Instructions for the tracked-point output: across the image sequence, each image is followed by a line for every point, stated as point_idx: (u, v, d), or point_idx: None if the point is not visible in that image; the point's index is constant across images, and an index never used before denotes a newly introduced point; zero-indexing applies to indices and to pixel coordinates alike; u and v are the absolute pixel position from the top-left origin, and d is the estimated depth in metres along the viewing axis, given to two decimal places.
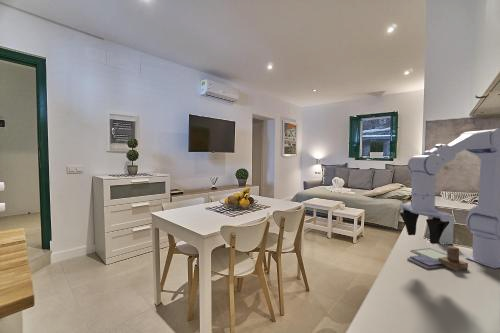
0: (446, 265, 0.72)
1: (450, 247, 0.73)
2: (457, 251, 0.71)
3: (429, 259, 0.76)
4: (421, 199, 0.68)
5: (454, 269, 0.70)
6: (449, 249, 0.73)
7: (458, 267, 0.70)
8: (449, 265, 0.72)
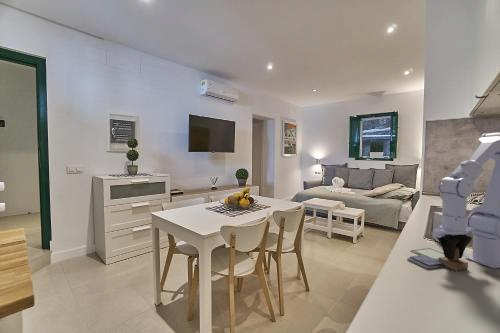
0: (446, 265, 0.72)
1: None
2: (457, 251, 0.71)
3: (429, 259, 0.76)
4: (442, 217, 0.74)
5: (454, 269, 0.70)
6: None
7: (458, 267, 0.70)
8: (449, 264, 0.72)
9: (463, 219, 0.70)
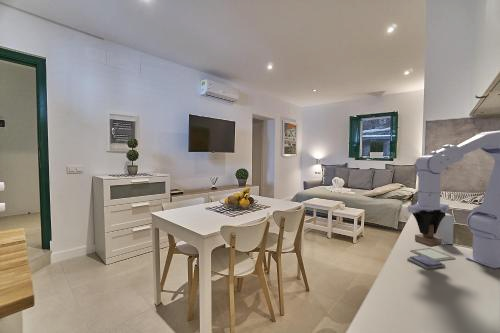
0: (422, 241, 0.74)
1: None
2: (432, 227, 0.73)
3: (429, 259, 0.76)
4: (418, 194, 0.76)
5: (429, 244, 0.72)
6: None
7: (433, 242, 0.72)
8: (424, 240, 0.74)
9: (437, 195, 0.72)
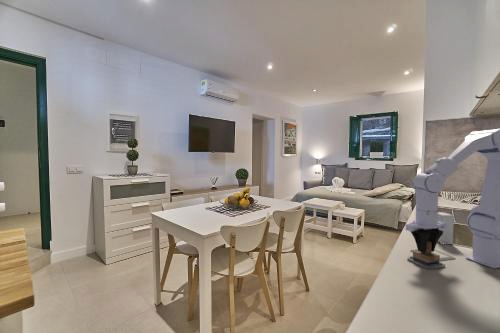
0: (420, 258, 0.75)
1: None
2: (430, 244, 0.74)
3: None
4: None
5: (427, 261, 0.72)
6: None
7: (430, 259, 0.72)
8: (422, 257, 0.74)
9: (434, 213, 0.72)
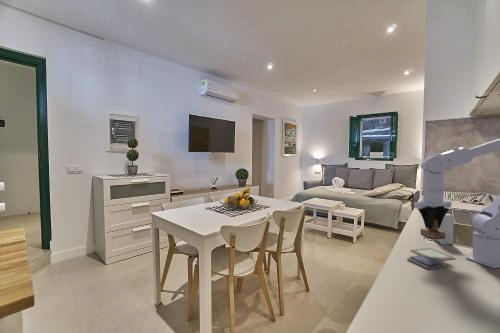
0: (426, 234, 0.82)
1: None
2: (436, 222, 0.81)
3: (429, 259, 0.76)
4: (423, 192, 0.84)
5: (433, 237, 0.79)
6: None
7: (436, 235, 0.79)
8: (428, 234, 0.81)
9: (440, 192, 0.79)
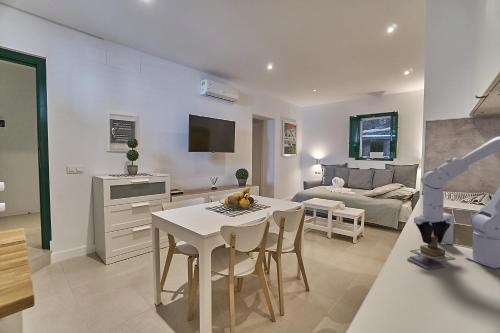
0: (426, 251, 0.82)
1: None
2: (436, 239, 0.81)
3: (429, 259, 0.76)
4: (423, 206, 0.84)
5: (432, 255, 0.80)
6: None
7: (436, 253, 0.79)
8: (428, 251, 0.81)
9: (440, 208, 0.79)
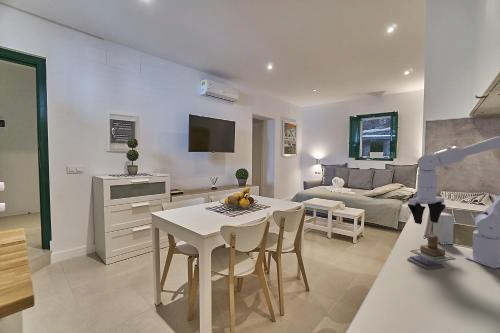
0: (426, 251, 0.82)
1: (430, 236, 0.82)
2: (436, 239, 0.81)
3: (429, 259, 0.76)
4: (417, 189, 0.88)
5: (432, 255, 0.80)
6: (429, 237, 0.82)
7: (436, 253, 0.79)
8: (428, 251, 0.81)
9: (433, 189, 0.83)
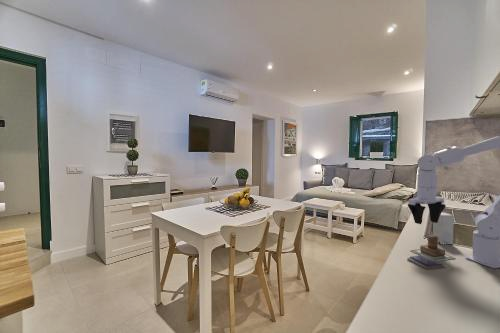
0: (426, 251, 0.82)
1: (430, 236, 0.82)
2: (436, 239, 0.81)
3: (429, 259, 0.76)
4: (417, 189, 0.88)
5: (432, 255, 0.80)
6: (429, 237, 0.82)
7: (436, 253, 0.79)
8: (428, 251, 0.81)
9: (433, 189, 0.83)
